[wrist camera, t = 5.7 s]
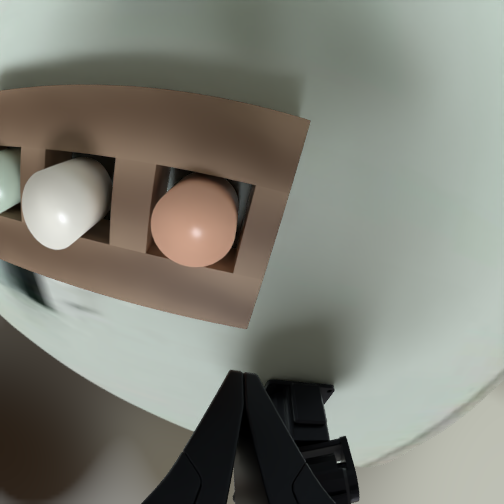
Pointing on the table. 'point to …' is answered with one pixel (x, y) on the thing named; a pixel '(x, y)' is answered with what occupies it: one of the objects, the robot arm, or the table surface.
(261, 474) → the robot arm
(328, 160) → the table surface
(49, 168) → the button cream
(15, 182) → the button sage
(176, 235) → the button terracotta
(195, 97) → the panel
